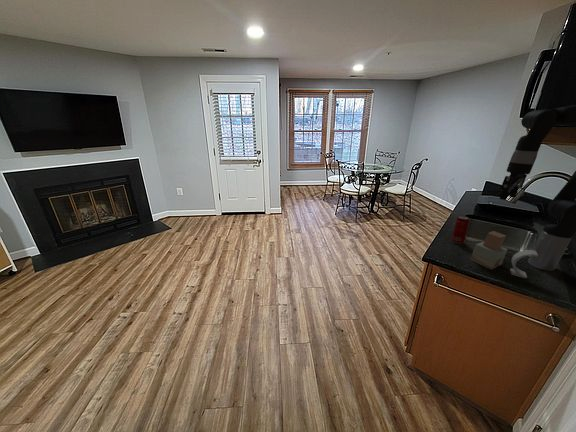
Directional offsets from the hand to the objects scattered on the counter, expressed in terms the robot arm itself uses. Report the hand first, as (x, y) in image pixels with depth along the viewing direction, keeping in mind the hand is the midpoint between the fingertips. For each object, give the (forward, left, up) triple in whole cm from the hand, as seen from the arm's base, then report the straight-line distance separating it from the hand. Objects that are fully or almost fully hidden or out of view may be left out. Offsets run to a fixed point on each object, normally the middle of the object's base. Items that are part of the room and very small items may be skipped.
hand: (507, 198), depth 105 cm
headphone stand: (0, +13, -32) cm, 35 cm away
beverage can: (-7, -17, -32) cm, 37 cm away
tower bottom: (+3, +2, -32) cm, 32 cm away
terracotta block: (+2, +2, -23) cm, 23 cm away
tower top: (+3, +2, -28) cm, 28 cm away
